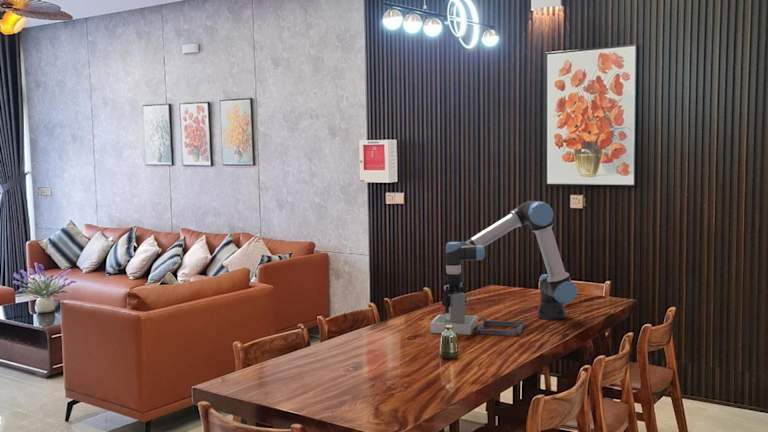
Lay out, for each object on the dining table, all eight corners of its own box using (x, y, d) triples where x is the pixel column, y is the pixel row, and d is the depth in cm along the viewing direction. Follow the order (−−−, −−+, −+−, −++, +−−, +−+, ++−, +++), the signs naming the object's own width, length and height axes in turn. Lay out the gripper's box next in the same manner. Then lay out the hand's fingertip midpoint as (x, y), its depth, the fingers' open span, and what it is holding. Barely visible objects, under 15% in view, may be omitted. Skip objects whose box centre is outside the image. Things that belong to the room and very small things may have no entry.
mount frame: (524, 326, 380) (524, 318, 380) (520, 336, 360) (520, 328, 360) (483, 324, 386) (483, 317, 386) (476, 334, 366) (476, 326, 366)
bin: (477, 325, 385) (477, 316, 384) (470, 334, 366) (470, 324, 365) (439, 324, 390) (438, 314, 390) (430, 332, 371) (430, 322, 371)
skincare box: (456, 321, 383) (456, 290, 381) (466, 324, 377) (466, 292, 376) (443, 323, 377) (444, 292, 376) (453, 326, 372) (454, 294, 371)
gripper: (461, 269, 386) (462, 313, 388) (433, 275, 371) (434, 320, 373) (473, 271, 380) (473, 315, 382) (445, 276, 366) (445, 322, 368)
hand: (454, 317), depth 378 cm, fingers closed on skincare box, 8 cm apart
